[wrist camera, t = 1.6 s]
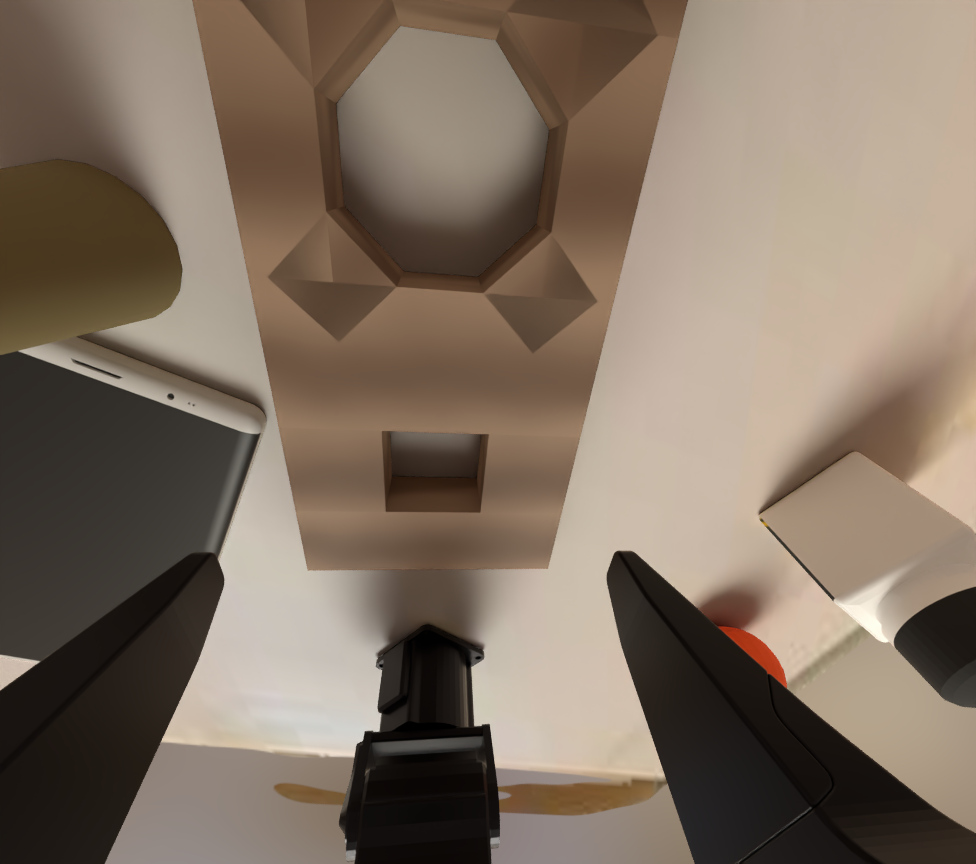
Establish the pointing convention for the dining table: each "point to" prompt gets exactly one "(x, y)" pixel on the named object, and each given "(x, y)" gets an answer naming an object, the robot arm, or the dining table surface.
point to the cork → (78, 254)
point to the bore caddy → (432, 297)
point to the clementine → (757, 651)
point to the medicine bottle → (889, 566)
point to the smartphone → (106, 484)
